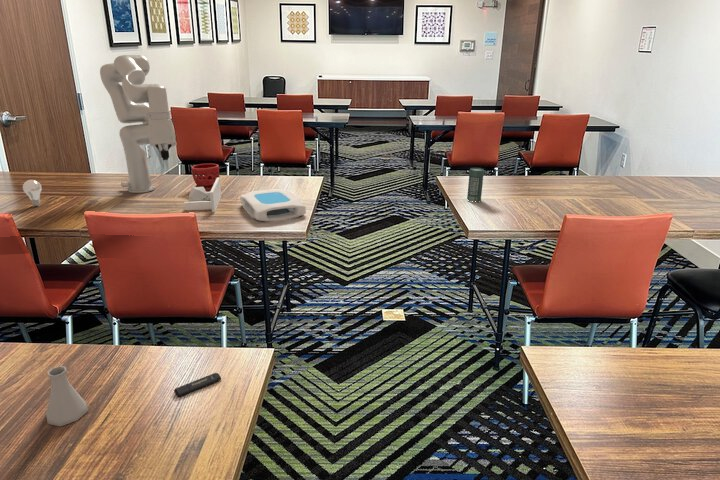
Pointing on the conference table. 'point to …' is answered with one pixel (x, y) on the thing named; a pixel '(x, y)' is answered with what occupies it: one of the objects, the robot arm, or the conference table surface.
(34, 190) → the light bulb
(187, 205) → the two-post plank stand
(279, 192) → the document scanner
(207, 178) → the plant pot
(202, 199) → the die
